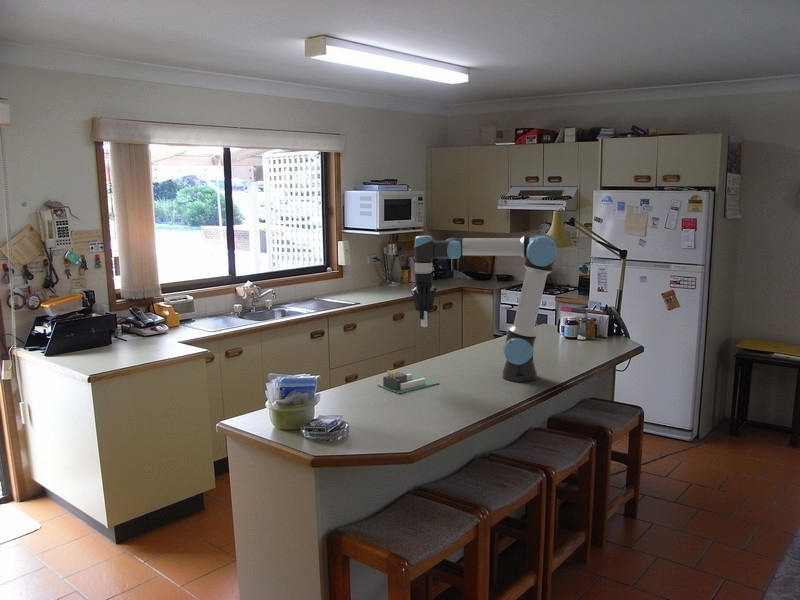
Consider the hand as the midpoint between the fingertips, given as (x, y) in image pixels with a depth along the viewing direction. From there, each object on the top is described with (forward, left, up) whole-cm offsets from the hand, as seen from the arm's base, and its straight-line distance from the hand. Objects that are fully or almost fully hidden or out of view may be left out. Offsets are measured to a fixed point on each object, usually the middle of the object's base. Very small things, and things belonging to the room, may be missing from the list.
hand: (424, 326), depth 289 cm
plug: (+1, +14, -24) cm, 28 cm away
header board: (0, +9, -24) cm, 26 cm away
